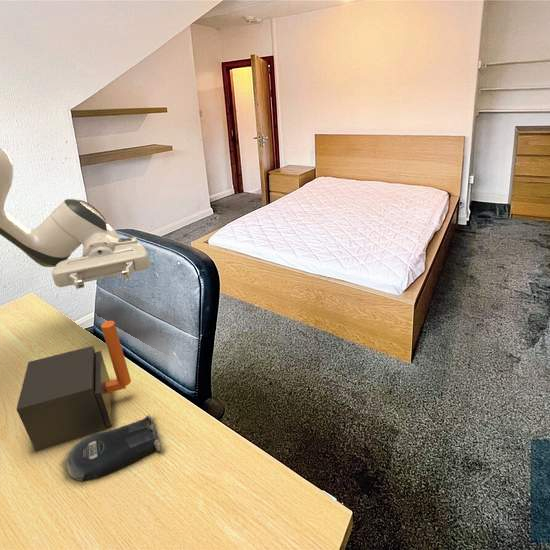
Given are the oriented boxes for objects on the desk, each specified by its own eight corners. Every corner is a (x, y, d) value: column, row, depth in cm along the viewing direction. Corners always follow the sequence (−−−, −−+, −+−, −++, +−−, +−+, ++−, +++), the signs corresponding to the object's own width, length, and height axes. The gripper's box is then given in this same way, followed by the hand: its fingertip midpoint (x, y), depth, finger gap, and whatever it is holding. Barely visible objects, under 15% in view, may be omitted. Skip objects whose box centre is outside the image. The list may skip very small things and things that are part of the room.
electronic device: (151, 426, 80) (66, 449, 73) (151, 405, 77) (62, 428, 71) (162, 466, 73) (69, 496, 66) (162, 445, 70) (64, 475, 63)
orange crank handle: (132, 375, 90) (113, 305, 82) (137, 417, 78) (115, 341, 71) (53, 397, 85) (24, 325, 77) (46, 445, 74) (11, 367, 66)
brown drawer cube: (106, 386, 89) (93, 345, 84) (107, 433, 77) (92, 388, 72) (45, 404, 85) (28, 361, 80) (37, 455, 73) (16, 409, 69)
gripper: (51, 253, 93) (44, 277, 82) (142, 236, 99) (148, 256, 88) (59, 278, 96) (54, 304, 84) (148, 259, 102) (154, 282, 90)
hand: (103, 280), depth 86 cm, fingers open, 8 cm apart
